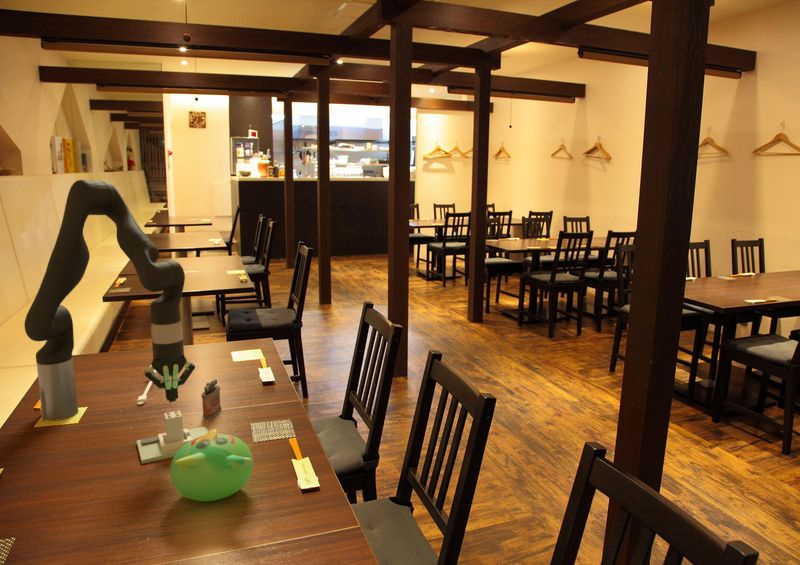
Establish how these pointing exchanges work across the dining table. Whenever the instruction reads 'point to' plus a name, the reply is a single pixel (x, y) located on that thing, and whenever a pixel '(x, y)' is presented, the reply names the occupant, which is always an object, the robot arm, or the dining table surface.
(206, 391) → the lighter
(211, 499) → the toy bird
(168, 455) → the board
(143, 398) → the charging cable
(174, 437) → the plug
